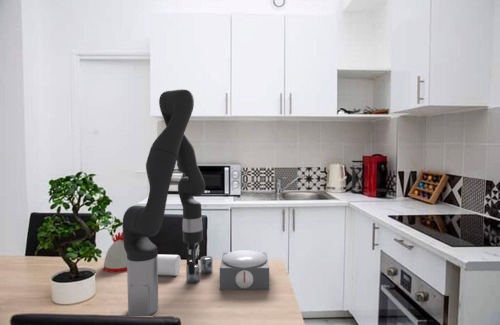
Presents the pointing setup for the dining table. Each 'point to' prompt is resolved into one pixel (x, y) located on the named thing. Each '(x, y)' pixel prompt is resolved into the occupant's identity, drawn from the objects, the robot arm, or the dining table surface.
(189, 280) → the cylinder
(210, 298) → the dining table surface
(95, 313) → the dining table surface
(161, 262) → the mug
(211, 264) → the cylinder
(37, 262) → the dining table surface
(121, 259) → the kitchen timer
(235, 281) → the scale
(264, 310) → the dining table surface
